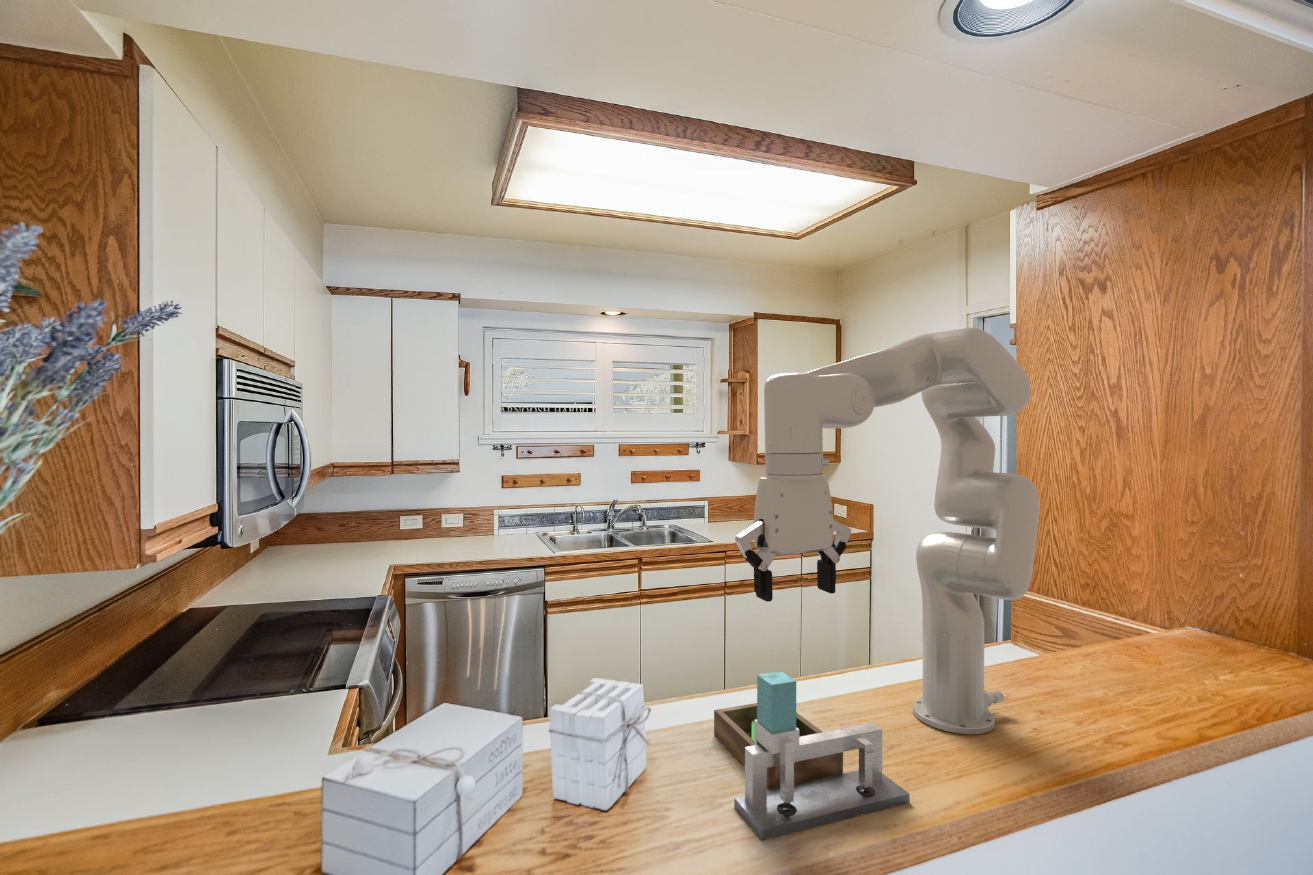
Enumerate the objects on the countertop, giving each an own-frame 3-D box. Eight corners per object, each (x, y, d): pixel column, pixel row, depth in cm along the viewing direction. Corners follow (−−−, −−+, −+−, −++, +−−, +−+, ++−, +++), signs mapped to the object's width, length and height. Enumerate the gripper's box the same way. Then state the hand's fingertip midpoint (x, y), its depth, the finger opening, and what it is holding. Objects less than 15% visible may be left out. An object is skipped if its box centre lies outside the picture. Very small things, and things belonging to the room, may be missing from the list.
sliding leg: (780, 781, 82) (780, 669, 82) (803, 803, 77) (803, 684, 77) (754, 787, 80) (754, 673, 80) (775, 810, 75) (775, 689, 75)
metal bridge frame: (872, 780, 85) (872, 722, 85) (893, 796, 81) (893, 735, 82) (744, 809, 78) (745, 747, 78) (761, 828, 75) (761, 762, 75)
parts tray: (778, 723, 103) (778, 699, 103) (843, 775, 87) (843, 746, 87) (714, 734, 98) (714, 709, 98) (768, 791, 82) (769, 761, 83)
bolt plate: (873, 775, 87) (873, 765, 87) (909, 802, 80) (909, 792, 80) (734, 806, 79) (734, 796, 79) (761, 840, 72) (761, 829, 72)
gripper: (830, 463, 88) (832, 582, 88) (722, 467, 82) (724, 595, 82) (865, 465, 81) (867, 594, 81) (750, 470, 75) (752, 610, 75)
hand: (795, 594), depth 82 cm, fingers open, 9 cm apart
